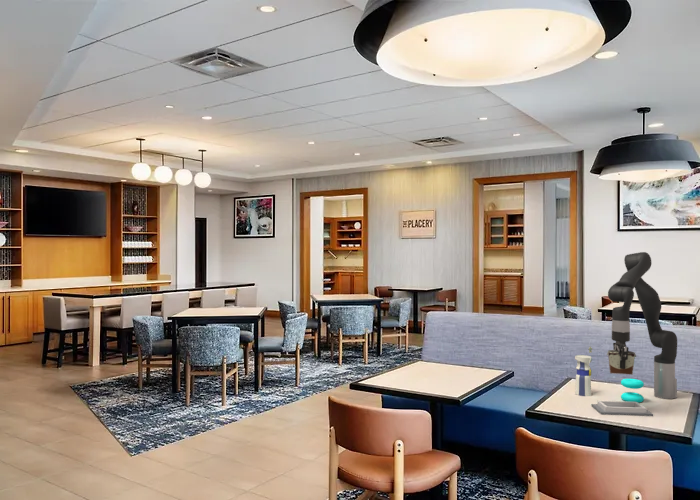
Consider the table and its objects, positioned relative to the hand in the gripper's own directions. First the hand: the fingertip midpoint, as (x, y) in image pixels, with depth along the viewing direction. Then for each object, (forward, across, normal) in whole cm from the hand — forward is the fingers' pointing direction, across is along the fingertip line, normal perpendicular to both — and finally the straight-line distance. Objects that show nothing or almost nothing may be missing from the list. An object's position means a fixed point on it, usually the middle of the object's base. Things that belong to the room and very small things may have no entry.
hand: (620, 367), depth 260 cm
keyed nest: (+20, 0, 0) cm, 20 cm away
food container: (+3, -1, 0) cm, 3 cm away
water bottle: (+20, -29, -8) cm, 37 cm away
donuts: (+20, -20, +12) cm, 30 cm away
